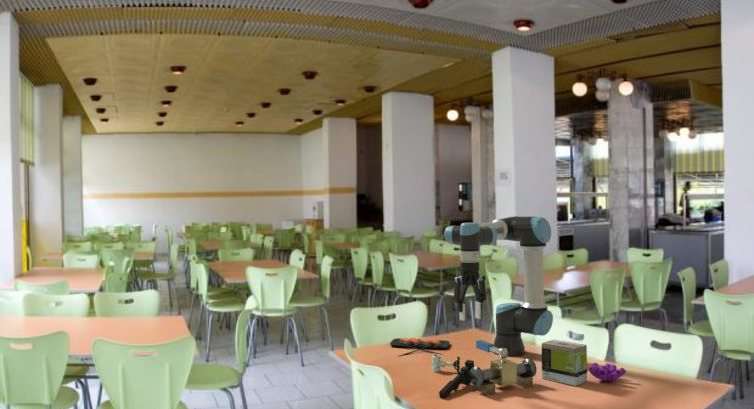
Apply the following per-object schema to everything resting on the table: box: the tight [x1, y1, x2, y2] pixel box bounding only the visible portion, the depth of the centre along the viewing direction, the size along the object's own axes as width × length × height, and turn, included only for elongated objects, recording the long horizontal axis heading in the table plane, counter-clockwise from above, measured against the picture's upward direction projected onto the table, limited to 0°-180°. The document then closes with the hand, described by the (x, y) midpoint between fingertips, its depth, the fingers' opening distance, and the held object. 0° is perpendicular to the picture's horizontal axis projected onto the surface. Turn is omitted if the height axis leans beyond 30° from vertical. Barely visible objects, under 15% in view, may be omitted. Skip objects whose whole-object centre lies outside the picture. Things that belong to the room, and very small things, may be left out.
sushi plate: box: [389, 337, 451, 357], centre depth 290 cm, size 29×30×4 cm
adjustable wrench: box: [438, 359, 475, 399], centre depth 229 cm, size 8×3×25 cm
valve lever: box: [475, 339, 508, 359], centre depth 236 cm, size 18×3×3 cm, turn 26°
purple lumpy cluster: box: [588, 362, 627, 382], centre depth 238 cm, size 11×15×10 cm
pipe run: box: [470, 357, 537, 396], centre depth 230 cm, size 27×8×12 cm, turn 116°
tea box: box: [541, 339, 588, 387], centre depth 239 cm, size 15×10×15 cm, turn 44°
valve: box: [430, 354, 461, 373], centre depth 252 cm, size 7×7×12 cm
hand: (470, 319), depth 237 cm, fingers open, 7 cm apart
